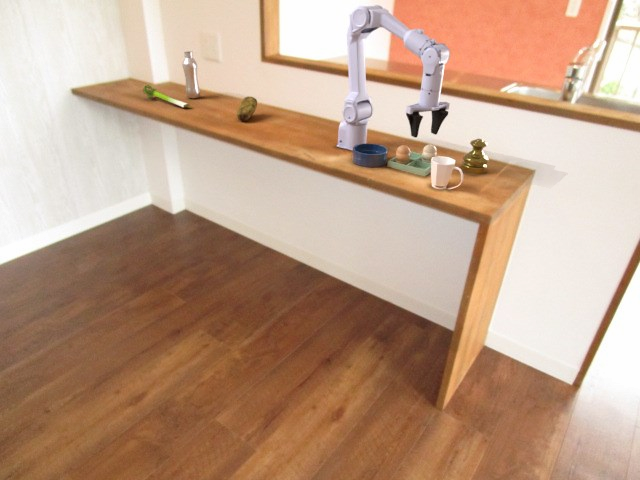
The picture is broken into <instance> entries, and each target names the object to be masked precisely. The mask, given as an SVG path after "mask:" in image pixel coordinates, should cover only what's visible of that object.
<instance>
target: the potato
mask: <svg viewBox="0 0 640 480" xmlns="http://www.w3.org/2000/svg"><path fill="white" fill-rule="evenodd" d="M257 107H258V100H257V98H255V97H254V96H245V97H244V98H242V100H241V102H240V104H239V106H238V109H237V111H236V117H237V119H238V120H239V121H240V122H246V121H249V119H250V118H251V117H252V116H253V115H254V113H255V112H256V109H257Z"/></svg>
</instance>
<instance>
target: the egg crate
mask: <svg viewBox="0 0 640 480" xmlns="http://www.w3.org/2000/svg"><path fill="white" fill-rule="evenodd" d="M386 167H388V168H392V169H395V170H398V171H403V172H406V173H411V174H415V175H419V176H423V177H426V176H427V175H429V174H431V163H427V162H423V161H422V153H420V152H415V151H411V150H410V157H409V162H408V164H407V165H404V164H400V163H396V156H394V157H392V158H390V159H389V160H387V165H386Z"/></svg>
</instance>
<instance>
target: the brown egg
mask: <svg viewBox="0 0 640 480" xmlns="http://www.w3.org/2000/svg"><path fill="white" fill-rule="evenodd" d="M410 151H411V149H410V148H409V146H407V145H406V144H402V145H399V146H398V147H397V149H396V153H395V157H396V163H400V164H404V165H407V164H408V162H409V157H410Z"/></svg>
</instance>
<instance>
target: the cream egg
mask: <svg viewBox="0 0 640 480" xmlns="http://www.w3.org/2000/svg"><path fill="white" fill-rule="evenodd" d="M437 150H438V149H437V147H436V146H435V145H434V144H431V143H429V144H426V145H425V146H424V147H423V149H422V153H421V154H422V161H423V162H427V163H431V159H432V157H437Z"/></svg>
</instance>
